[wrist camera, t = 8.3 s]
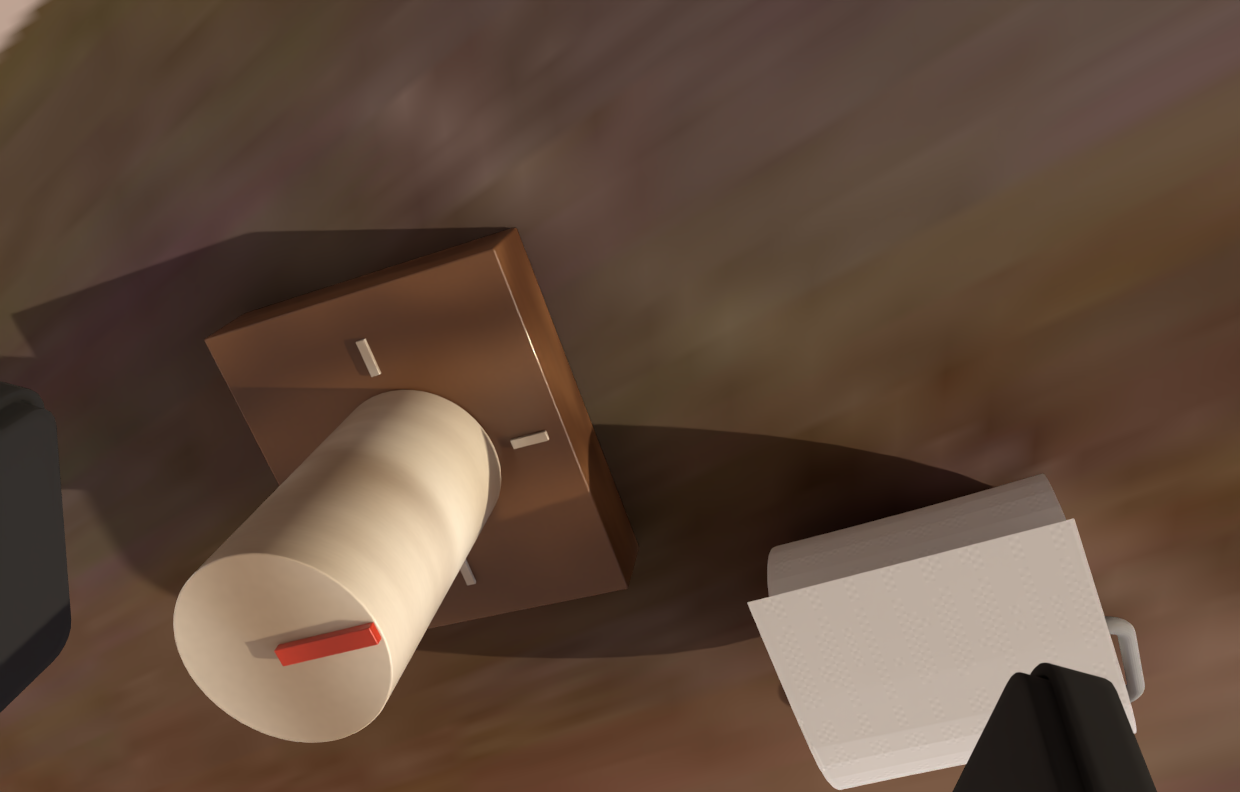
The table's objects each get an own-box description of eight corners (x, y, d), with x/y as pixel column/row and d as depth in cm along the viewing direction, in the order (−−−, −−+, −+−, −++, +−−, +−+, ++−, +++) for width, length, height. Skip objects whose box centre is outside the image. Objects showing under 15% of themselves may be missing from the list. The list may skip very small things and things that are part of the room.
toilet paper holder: (1123, 510, 27) (1233, 895, 32) (1050, 385, 35) (1146, 709, 40) (708, 616, 31) (861, 948, 36) (726, 482, 39) (850, 767, 43)
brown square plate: (243, 313, 39) (200, 341, 36) (516, 226, 36) (492, 249, 33) (386, 601, 44) (358, 645, 41) (639, 547, 41) (628, 591, 38)
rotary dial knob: (383, 556, 39) (237, 767, 29) (309, 415, 37) (123, 588, 27) (527, 518, 37) (426, 729, 27) (458, 368, 35) (320, 535, 25)
